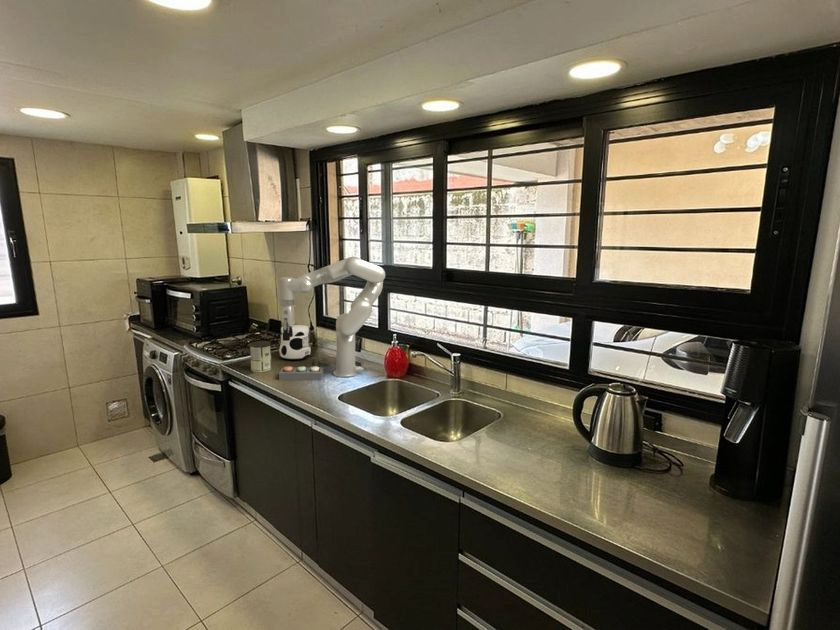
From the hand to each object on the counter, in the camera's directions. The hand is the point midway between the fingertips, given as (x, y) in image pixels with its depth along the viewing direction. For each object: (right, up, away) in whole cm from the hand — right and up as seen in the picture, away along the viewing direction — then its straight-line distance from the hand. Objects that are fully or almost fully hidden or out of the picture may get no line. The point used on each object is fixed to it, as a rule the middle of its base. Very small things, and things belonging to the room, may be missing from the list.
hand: (287, 338), depth 212 cm
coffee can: (-18, -17, +14) cm, 29 cm away
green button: (+6, -17, +4) cm, 18 cm away
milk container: (-7, -14, +37) cm, 40 cm away
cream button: (+12, -17, +5) cm, 21 cm away
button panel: (+6, -20, +4) cm, 21 cm away
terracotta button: (-1, -17, +3) cm, 17 cm away
